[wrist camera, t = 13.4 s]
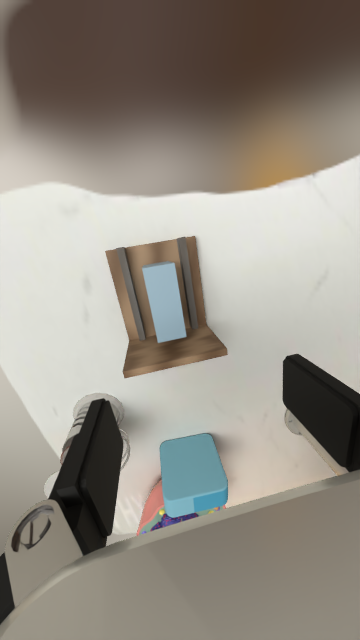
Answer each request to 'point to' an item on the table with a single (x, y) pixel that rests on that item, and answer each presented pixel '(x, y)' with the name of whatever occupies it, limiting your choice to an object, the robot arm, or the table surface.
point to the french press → (79, 417)
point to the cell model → (163, 512)
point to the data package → (192, 475)
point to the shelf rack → (137, 311)
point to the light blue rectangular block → (164, 300)
